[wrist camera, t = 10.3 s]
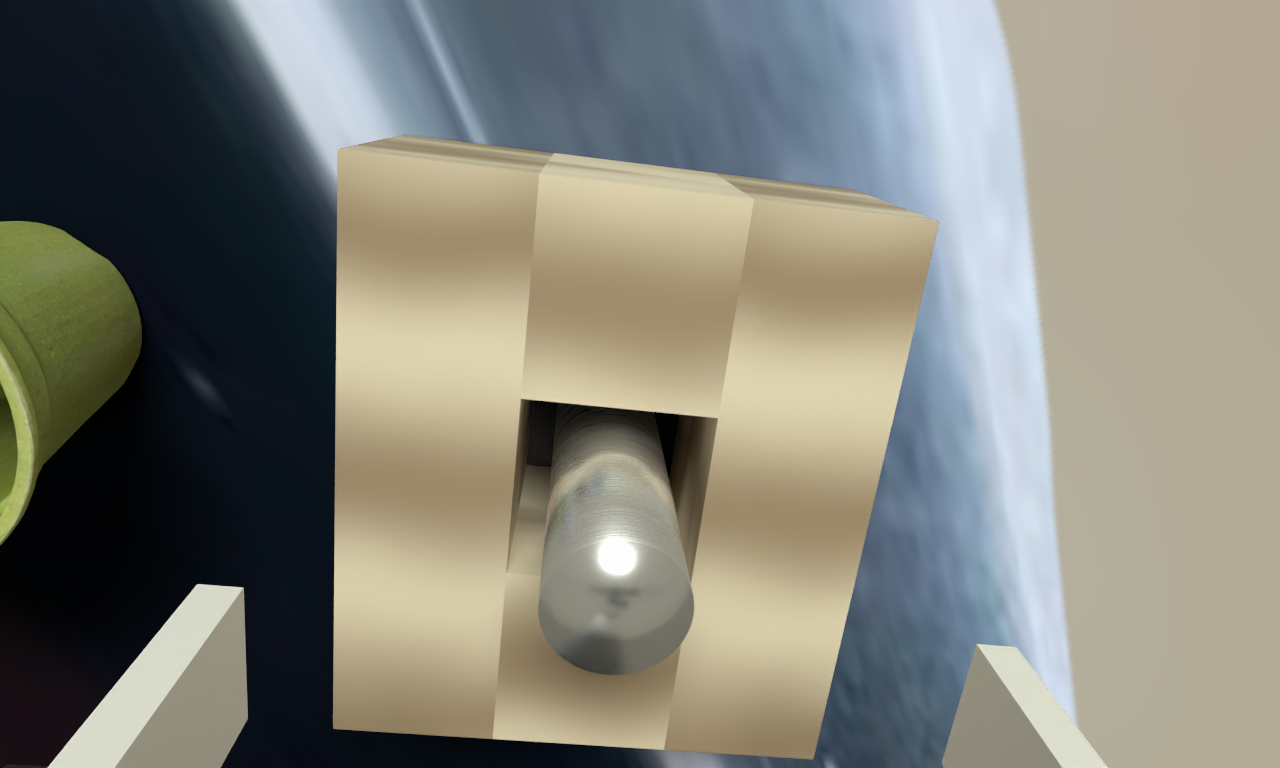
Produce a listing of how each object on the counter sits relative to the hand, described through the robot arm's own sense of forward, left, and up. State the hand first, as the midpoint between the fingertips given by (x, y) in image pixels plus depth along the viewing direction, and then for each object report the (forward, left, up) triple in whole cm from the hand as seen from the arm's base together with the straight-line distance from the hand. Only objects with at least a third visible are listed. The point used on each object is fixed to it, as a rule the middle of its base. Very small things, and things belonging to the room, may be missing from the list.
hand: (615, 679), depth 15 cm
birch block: (0, 0, -14) cm, 14 cm away
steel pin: (0, 0, -14) cm, 14 cm away
